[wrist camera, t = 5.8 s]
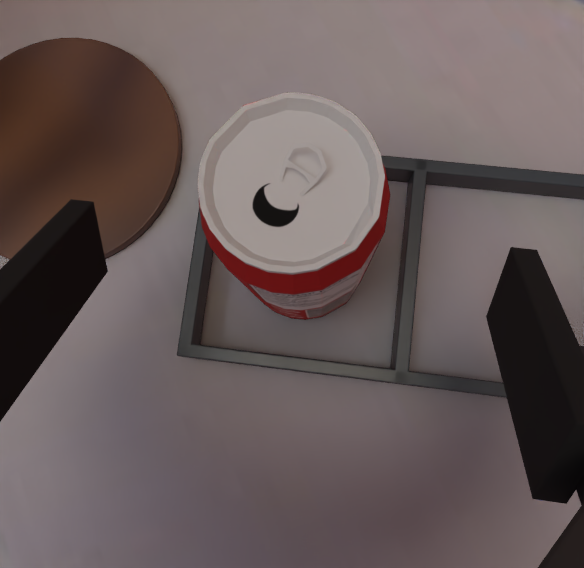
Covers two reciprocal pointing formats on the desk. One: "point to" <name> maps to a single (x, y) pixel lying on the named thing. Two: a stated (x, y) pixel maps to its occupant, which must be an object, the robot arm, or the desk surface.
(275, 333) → the desk surface
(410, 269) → the rack
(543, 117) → the desk surface
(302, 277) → the soda can
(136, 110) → the coaster
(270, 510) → the desk surface
